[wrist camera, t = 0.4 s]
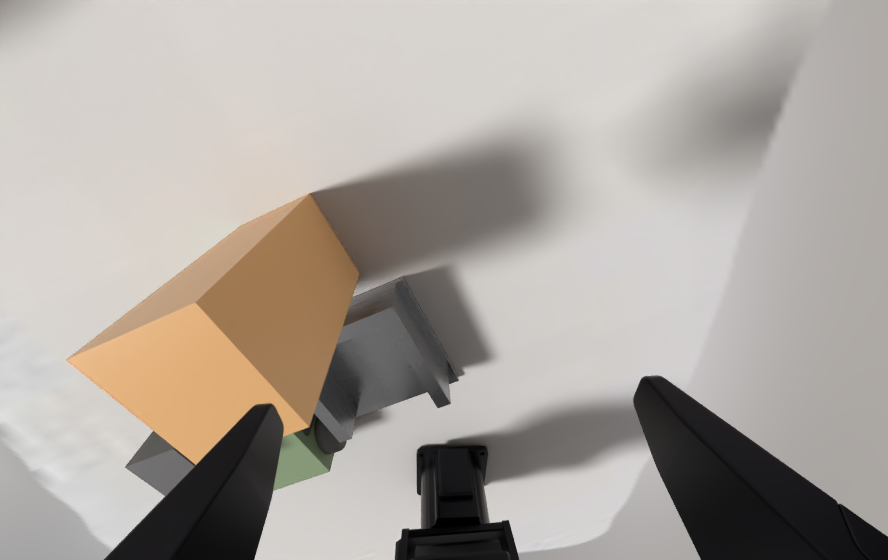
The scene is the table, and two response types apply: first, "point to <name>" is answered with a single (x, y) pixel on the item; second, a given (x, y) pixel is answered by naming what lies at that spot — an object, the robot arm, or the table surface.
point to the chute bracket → (382, 359)
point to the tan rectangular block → (232, 332)
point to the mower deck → (297, 462)
